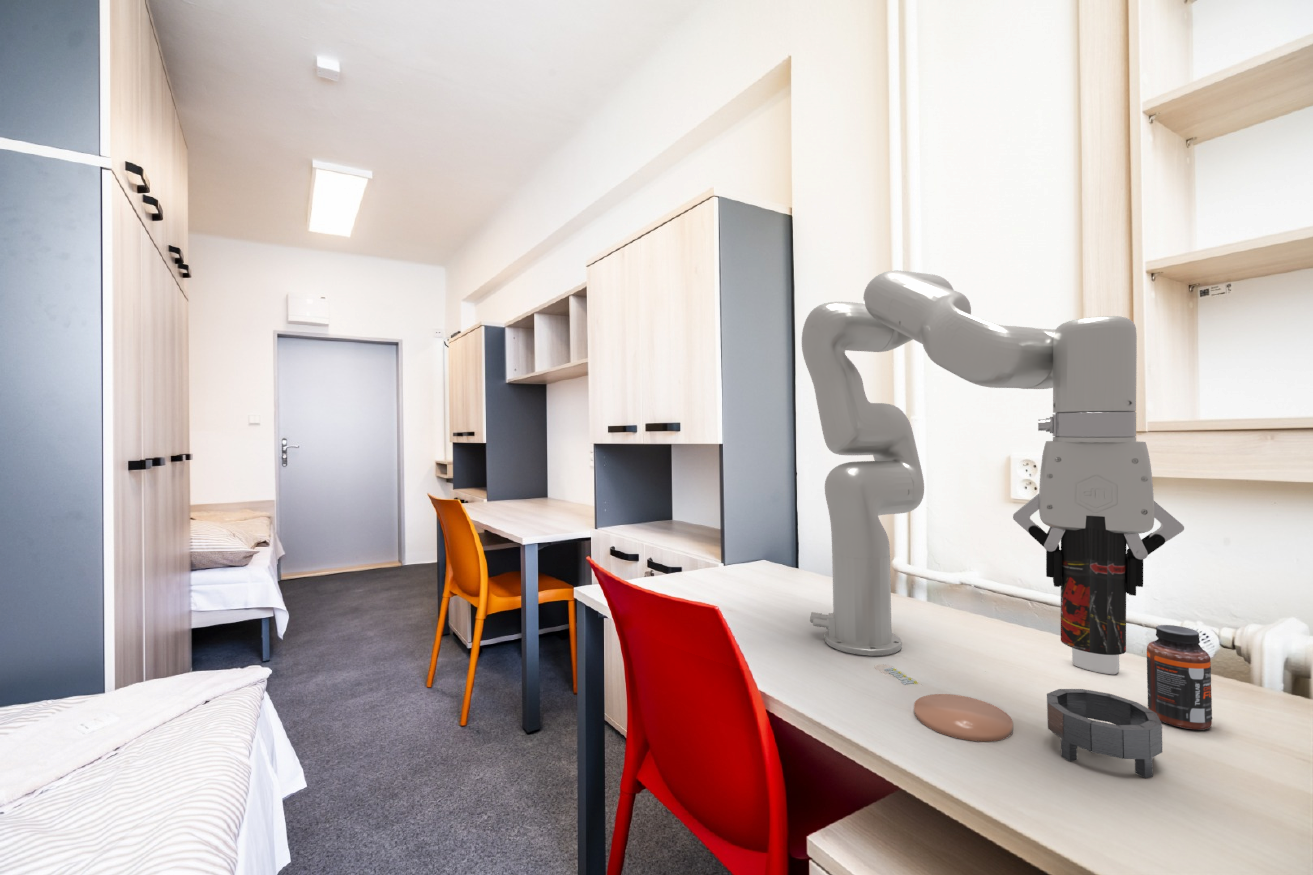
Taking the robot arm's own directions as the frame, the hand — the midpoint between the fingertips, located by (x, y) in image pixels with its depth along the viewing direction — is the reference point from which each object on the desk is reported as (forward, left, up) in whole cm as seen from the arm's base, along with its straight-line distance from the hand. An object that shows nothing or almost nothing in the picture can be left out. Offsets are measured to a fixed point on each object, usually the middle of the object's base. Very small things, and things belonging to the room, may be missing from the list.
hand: (1092, 586), depth 66 cm
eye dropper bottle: (+2, +29, -19) cm, 34 cm away
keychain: (-23, +11, -19) cm, 31 cm away
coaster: (-14, +1, -18) cm, 23 cm away
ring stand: (0, 0, -18) cm, 18 cm away
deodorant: (0, 0, -7) cm, 7 cm away
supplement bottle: (+9, +14, -19) cm, 25 cm away
